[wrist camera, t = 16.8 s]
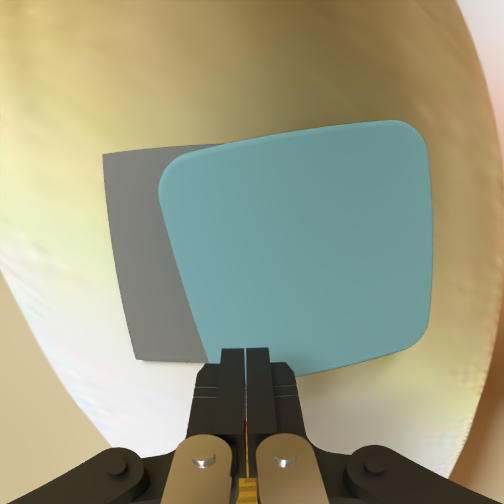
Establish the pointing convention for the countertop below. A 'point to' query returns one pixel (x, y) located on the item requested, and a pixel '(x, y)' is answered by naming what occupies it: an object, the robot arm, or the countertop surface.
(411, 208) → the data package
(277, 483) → the robot arm
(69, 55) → the countertop surface
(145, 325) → the rubber mat
